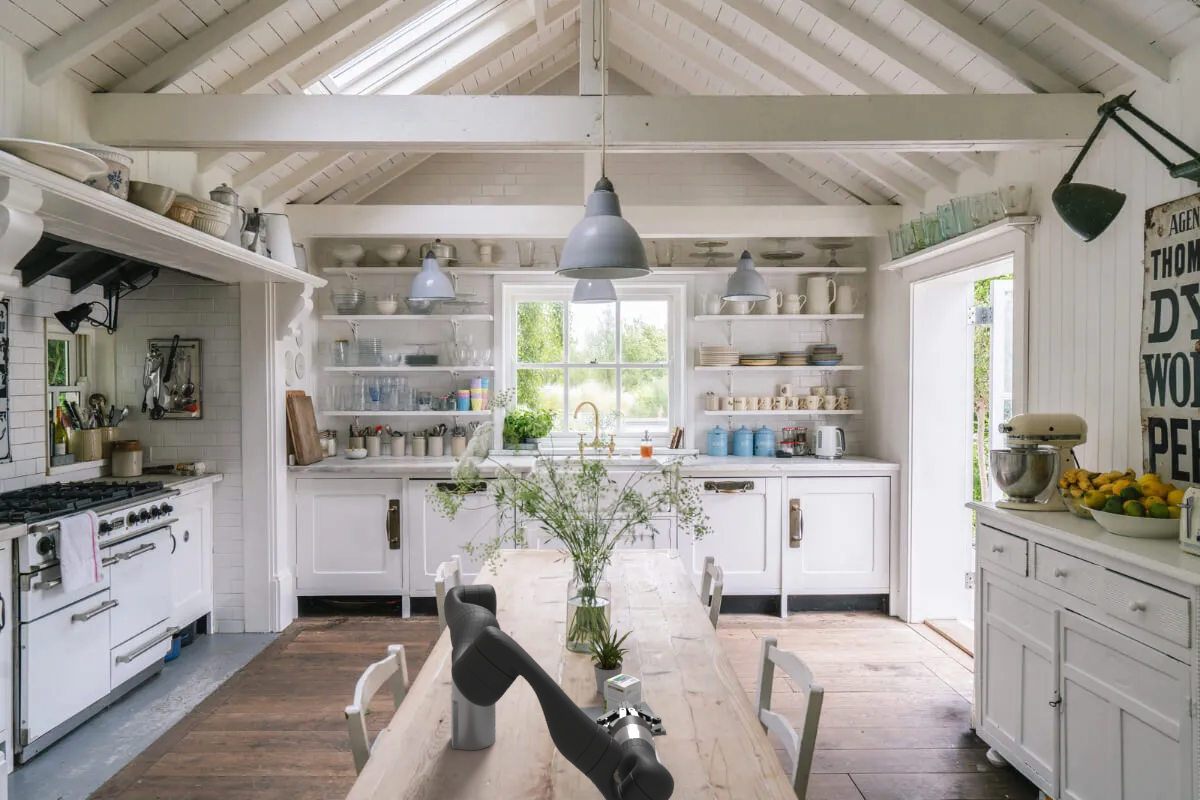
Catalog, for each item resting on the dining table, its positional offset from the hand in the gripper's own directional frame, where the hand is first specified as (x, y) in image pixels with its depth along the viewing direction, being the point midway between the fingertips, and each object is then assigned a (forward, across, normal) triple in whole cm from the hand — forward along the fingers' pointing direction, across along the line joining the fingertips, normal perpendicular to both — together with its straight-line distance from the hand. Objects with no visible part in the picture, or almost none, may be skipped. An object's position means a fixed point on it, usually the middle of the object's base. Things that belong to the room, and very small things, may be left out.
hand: (625, 706), depth 160 cm
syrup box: (+6, 0, -12) cm, 13 cm away
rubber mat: (+19, -1, -12) cm, 22 cm away
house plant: (+38, -2, -12) cm, 40 cm away
